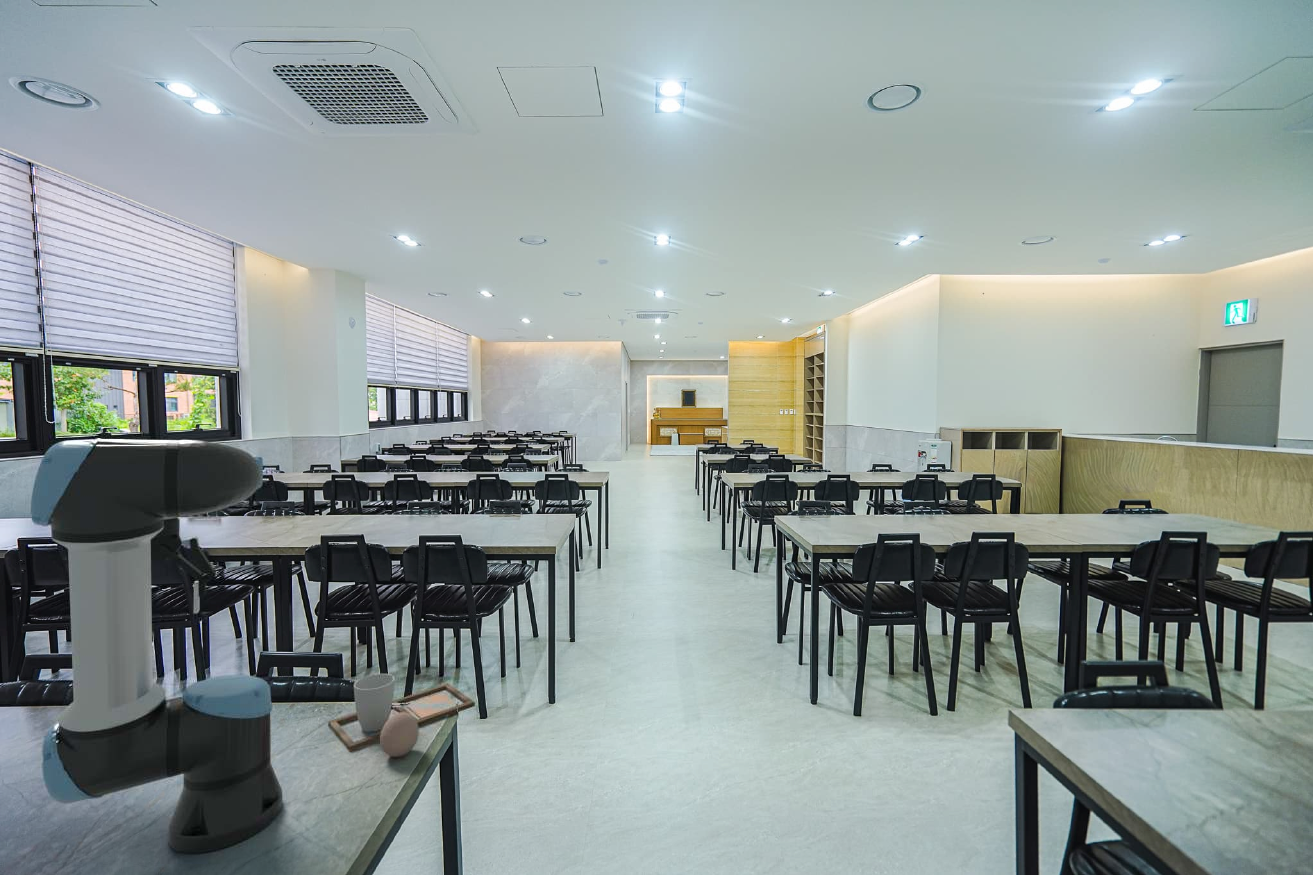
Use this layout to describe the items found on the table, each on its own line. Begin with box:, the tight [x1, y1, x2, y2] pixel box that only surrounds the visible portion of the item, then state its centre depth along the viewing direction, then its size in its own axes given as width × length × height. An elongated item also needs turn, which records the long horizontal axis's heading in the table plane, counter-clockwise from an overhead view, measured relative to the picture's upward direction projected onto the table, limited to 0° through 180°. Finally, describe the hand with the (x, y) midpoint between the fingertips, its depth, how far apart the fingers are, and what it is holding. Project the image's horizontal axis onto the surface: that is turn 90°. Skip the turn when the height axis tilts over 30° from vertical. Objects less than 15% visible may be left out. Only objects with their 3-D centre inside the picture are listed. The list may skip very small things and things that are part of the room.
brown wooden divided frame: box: [327, 683, 476, 752], centre depth 130 cm, size 14×28×1 cm, turn 136°
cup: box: [353, 673, 395, 733], centre depth 125 cm, size 8×8×10 cm
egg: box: [379, 712, 420, 758], centre depth 114 cm, size 7×7×8 cm
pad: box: [407, 692, 455, 719], centre depth 134 cm, size 9×9×1 cm
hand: (155, 617), depth 119 cm, fingers open, 13 cm apart
